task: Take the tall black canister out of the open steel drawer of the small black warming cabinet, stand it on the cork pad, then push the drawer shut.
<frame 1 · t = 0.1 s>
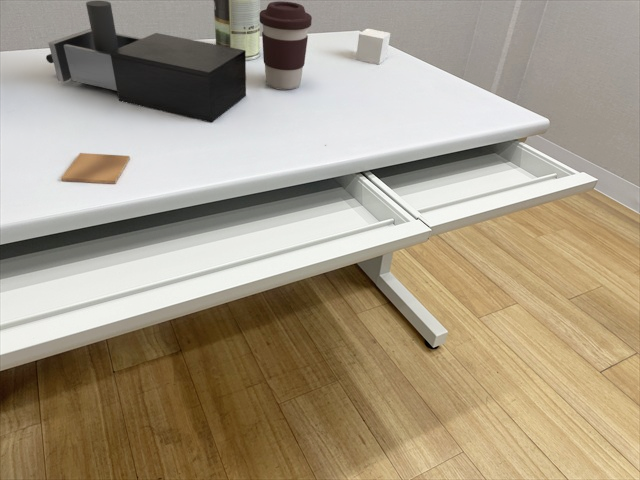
coffee can: (238, 54, 111), on the table
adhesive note: (371, 59, 116), on the table
coffee cup: (283, 84, 98), on the table
drawer: (107, 59, 89), point 4 cm above the table, slide at 12.0 cm, touching canister
cabinet: (184, 98, 88), on the table
pad: (97, 169, 66), on the table
canister: (111, 71, 90), point 2 cm above the table, touching drawer
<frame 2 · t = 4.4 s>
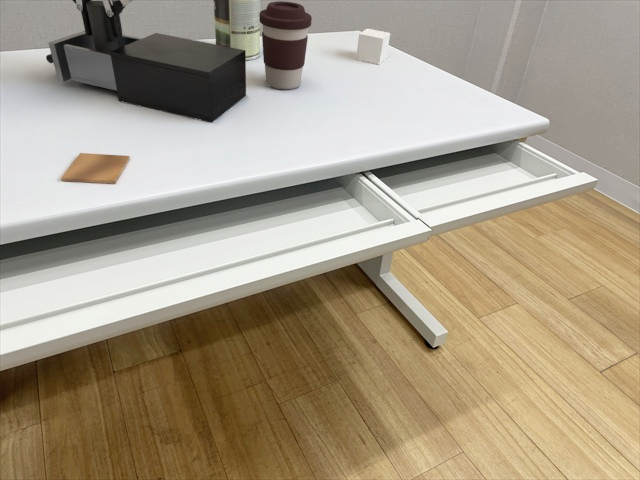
hand: (104, 35, 86), 9 cm above the table, tool pointing down, fingers closed on canister, 4 cm apart
canister: (111, 71, 90), point 2 cm above the table, touching drawer, gripper
everything else where it was.
when the fingers open (7 cm above the table, at t = 13.2 s): canister stays where it is, resting on pad.
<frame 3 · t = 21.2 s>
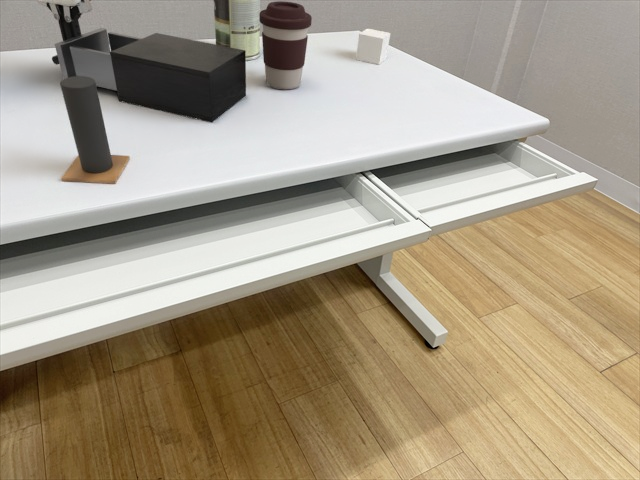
hand: (73, 42, 89), 6 cm above the table, tool pointing down, fingers closed
drawer: (113, 60, 88), point 4 cm above the table, slide at 10.7 cm, touching gripper
canister: (97, 166, 66), resting on pad
everything else where it was.
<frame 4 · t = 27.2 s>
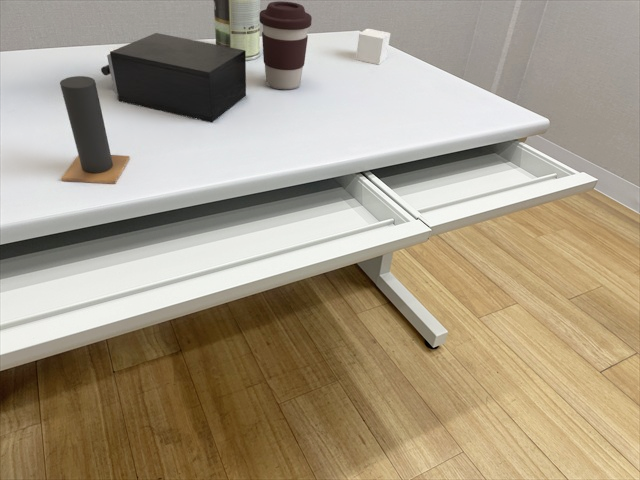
drawer: (163, 71, 86), point 4 cm above the table, slide at 0.0 cm
everything else where it was.
at the end: canister 0.1 cm off-centre on the pad, point 0.5 cm above the pad's base; canister tilted 0°; drawer slide at 0.0 cm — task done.
